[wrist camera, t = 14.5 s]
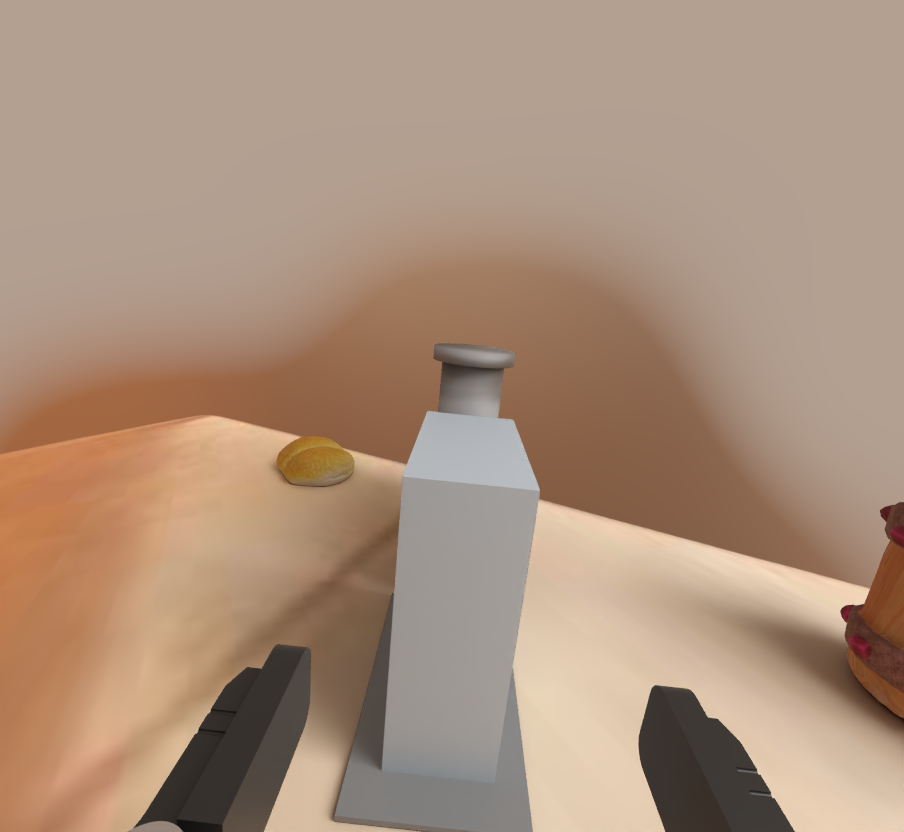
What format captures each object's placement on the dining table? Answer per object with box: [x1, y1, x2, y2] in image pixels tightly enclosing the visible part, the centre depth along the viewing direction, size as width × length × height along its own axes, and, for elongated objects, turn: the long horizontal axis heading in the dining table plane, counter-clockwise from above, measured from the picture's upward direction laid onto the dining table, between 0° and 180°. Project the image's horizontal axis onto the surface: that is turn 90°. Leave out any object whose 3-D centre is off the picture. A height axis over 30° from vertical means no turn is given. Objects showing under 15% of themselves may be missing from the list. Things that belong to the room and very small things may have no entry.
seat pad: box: [334, 593, 533, 832], centre depth 24 cm, size 14×8×1 cm, turn 178°
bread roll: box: [277, 436, 354, 486], centre depth 51 cm, size 8×9×4 cm
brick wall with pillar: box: [434, 344, 516, 418], centre depth 36 cm, size 16×6×18 cm, turn 178°
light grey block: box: [382, 411, 540, 783], centre depth 23 cm, size 5×10×14 cm, turn 178°
